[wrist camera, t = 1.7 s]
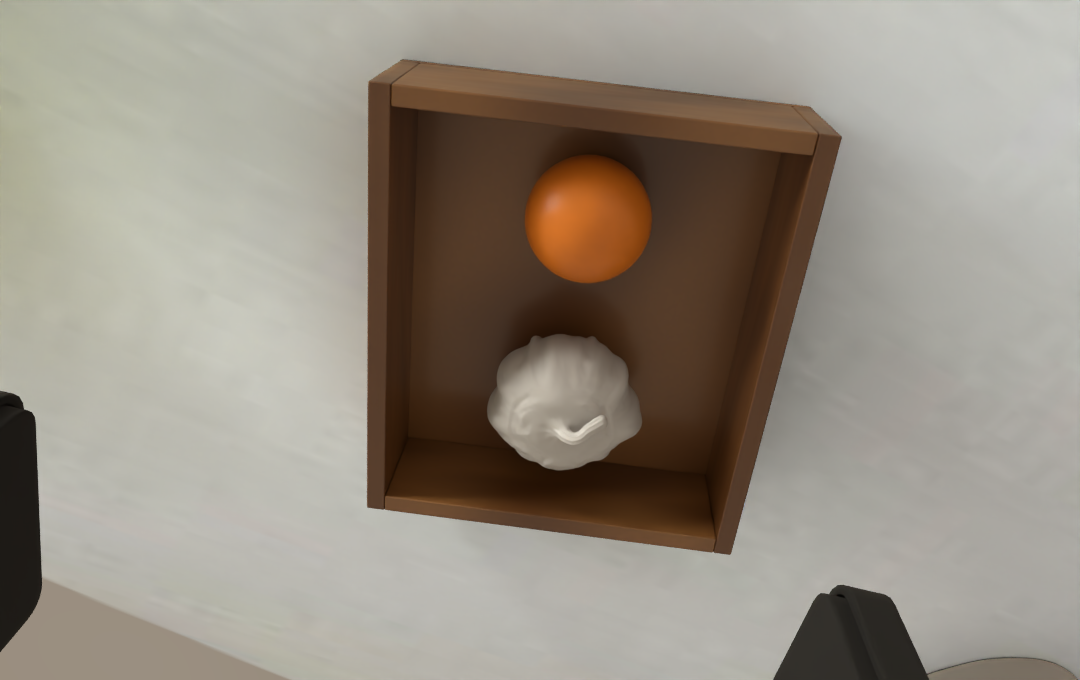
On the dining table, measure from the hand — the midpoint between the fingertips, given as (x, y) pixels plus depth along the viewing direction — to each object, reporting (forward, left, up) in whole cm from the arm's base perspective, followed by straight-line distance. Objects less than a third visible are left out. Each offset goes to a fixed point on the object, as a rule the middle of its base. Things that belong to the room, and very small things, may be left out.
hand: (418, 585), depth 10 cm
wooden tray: (-2, +6, -23) cm, 23 cm away
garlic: (-2, +9, -23) cm, 24 cm away
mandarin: (-2, +2, -20) cm, 20 cm away
